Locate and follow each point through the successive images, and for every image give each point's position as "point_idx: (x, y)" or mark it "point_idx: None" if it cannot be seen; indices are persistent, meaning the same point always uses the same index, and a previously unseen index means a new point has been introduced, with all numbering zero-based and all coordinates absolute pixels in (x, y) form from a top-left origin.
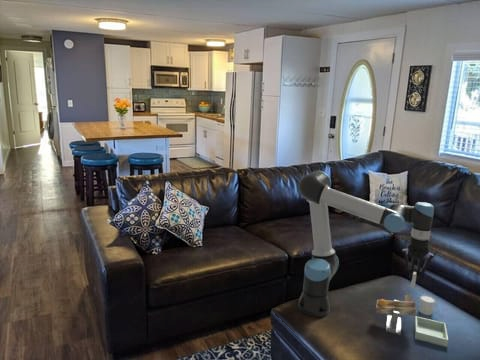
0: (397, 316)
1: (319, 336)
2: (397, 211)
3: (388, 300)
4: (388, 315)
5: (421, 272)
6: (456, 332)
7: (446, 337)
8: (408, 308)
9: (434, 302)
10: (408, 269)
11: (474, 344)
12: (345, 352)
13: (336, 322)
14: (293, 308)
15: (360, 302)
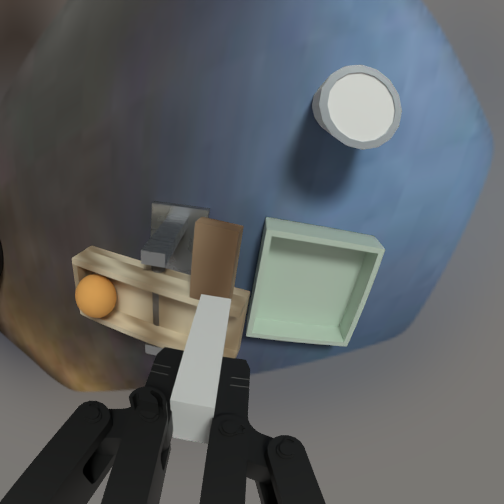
0: None
1: (28, 347)
2: None
3: (113, 272)
4: (156, 209)
5: (255, 478)
6: (412, 237)
7: (346, 336)
8: None
9: (390, 138)
10: (111, 458)
11: (432, 287)
12: (85, 385)
13: (29, 291)
14: None
15: (58, 135)
